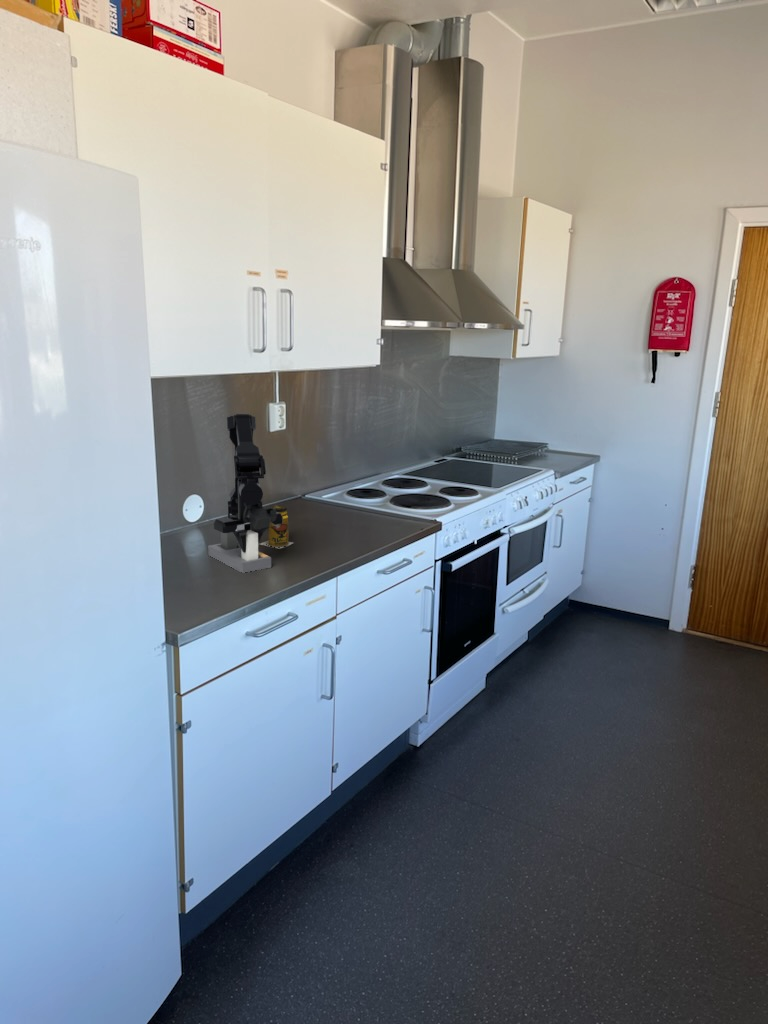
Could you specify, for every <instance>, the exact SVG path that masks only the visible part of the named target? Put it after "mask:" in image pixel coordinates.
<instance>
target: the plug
mask: <svg viewBox="0 0 768 1024" xmlns="http://www.w3.org/2000/svg"><path fill="white" fill-rule="evenodd" d="M258 551H259V545H258V533H256V532H254V531H252V530H248V531H247V533H246V552H245V553H244V552H243V551H242V549H241V553H242V558H243V559H245V560H247V561H249V560H254V559H258Z"/></svg>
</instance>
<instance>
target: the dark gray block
mask: <svg viewBox="0 0 768 1024" xmlns="http://www.w3.org/2000/svg"><path fill="white" fill-rule="evenodd" d="M237 541H238V540H237V538H236V536H235V535H234V533H233V532H230V533H222V532H220V543H221V548H222V549H225V550H230V549H236V548H237Z"/></svg>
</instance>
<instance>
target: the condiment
mask: <svg viewBox="0 0 768 1024" xmlns="http://www.w3.org/2000/svg"><path fill="white" fill-rule="evenodd" d="M269 508H274V509H275V510H276V512H278V513H281V515H282V516H283V523H282V524H277V525H274V524H272V523H271V522H270V528H269V529H268V540H267V541H264V542H263V541H262V542H261V543H260V542H259V545H261V546H266V547H270V546H272V547H270V548H274V547H275V548H274V549H279V550H280V549H283V548H285V547H284V546H286V547H289V546H291V545H292V544H294V542H292V541H289V516H288V509H287V508H288V507H286V506H285V505H279V504H278V505H271V506H270V507H269ZM266 544H267V545H266ZM268 545H269V546H268ZM278 547H280V548H278Z"/></svg>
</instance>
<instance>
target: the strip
mask: <svg viewBox="0 0 768 1024" xmlns="http://www.w3.org/2000/svg"><path fill="white" fill-rule="evenodd" d="M207 548H208V556H209V557H210V556H211V558H212V557H213V559H214V558H215V559H214V560H216V559H217V560H216V561H218V560H219V561H218V562H220V561H221V562H220V563H222V562H223V563H222V564H224V563H225V564H224V565H226V566H228V567H229V566H230V568H231V567H232V569H233V568H234V570H235V571H236V572H239V573H241V572H242V573H241V574H246V573H245V572H248V573H251V572H250V571H252V572H256V571H255V570H257V571H260V570H261V569H262V570H266V568H267V569H270V568H272V556H269V555H267V554H265V553H263V552H261V551H259V550H258V559H254V560H249V561H247V560H245V559H243V558H242V553H241V547H240V545H239V542H238V540H237V548H236V549H230V550H225V549H222V548H221V542H220V543H215V544H210V545H208V546H207ZM262 570H261V571H262Z"/></svg>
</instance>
